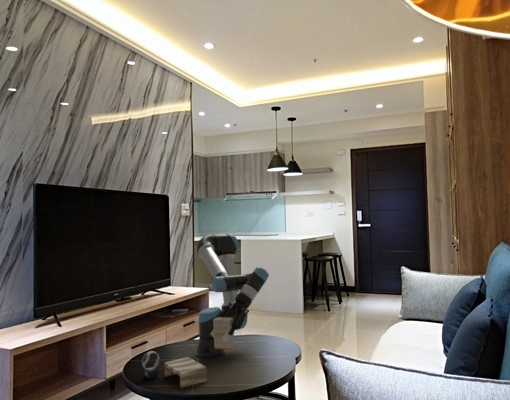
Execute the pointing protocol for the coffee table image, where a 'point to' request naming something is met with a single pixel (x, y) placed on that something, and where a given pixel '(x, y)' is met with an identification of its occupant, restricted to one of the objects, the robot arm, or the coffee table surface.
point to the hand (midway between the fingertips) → (218, 338)
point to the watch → (150, 371)
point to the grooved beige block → (186, 371)
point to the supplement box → (223, 333)
